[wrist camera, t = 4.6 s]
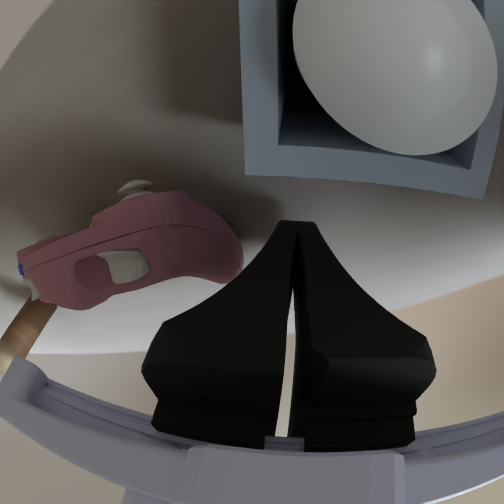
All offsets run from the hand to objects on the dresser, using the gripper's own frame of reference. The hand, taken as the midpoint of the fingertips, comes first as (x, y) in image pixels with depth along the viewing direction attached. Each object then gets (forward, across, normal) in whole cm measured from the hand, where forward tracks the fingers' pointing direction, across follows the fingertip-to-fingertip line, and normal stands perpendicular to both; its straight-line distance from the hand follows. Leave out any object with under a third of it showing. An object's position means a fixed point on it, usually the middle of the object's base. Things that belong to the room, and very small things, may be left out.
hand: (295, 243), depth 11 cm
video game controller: (+2, +7, +1) cm, 7 cm away
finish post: (+1, +19, +8) cm, 20 cm away
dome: (-1, -2, -7) cm, 7 cm away
